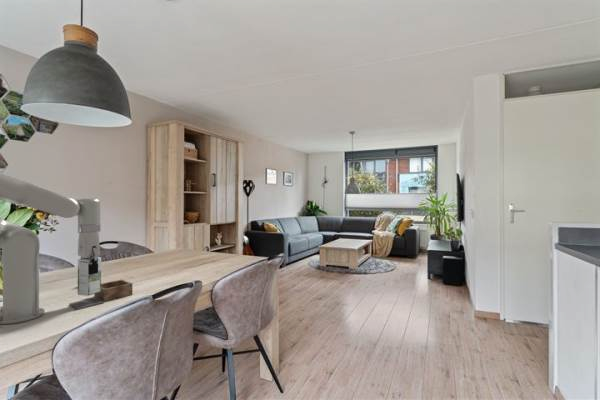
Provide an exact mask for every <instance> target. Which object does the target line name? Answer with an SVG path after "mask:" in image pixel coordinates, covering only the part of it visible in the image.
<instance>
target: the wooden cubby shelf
mask: <svg viewBox="0 0 600 400" xmlns="http://www.w3.org/2000/svg"><path fill="white" fill-rule="evenodd" d="M129 296H133V283H132V282H129V281H127V280H123V279H118V280H112V281H107V282H103V283H102V282H101V292H99V293H96V294H93V298H97V299H99V300H101V301H103V302H104V303H105V302H109V301H112V300H116V299H122V298H126V297H129Z"/></svg>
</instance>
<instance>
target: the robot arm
mask: <svg viewBox="0 0 600 400" xmlns="http://www.w3.org/2000/svg"><path fill="white" fill-rule="evenodd" d="M0 200H1V201H4V202H6V203H7V202H8V203H10V204H13V205H17V206H21V207H27V208H31V209H35V210H38V211H41V212H43V213H44V212H45V213H48V214H51V215H55V216H57V217H59V218H64V219H70V218H73V217H76V216H77V234H79V235H78V240H77V241H78V243H77V255H78V256H79V257H81V258H80V259H83V258H88V259H89V264H88V274H96V273H98V257H99V258H100V252H101V251H100V250H101V249H100V248H101V247H100V234H99V233H101V231H102V230H101V201H100V199H98V198H81V199H80V198H79V199H78V198H71V197H68V196H66V195H62V194H60V193H57V192H55V191H54V192H53V191H51V190H48V189H46V188H42V187H39V186H38V185H35V184H32V183H30V182H27V181H24V180H21V179H19V178H16V177H12V176H10V175H8V174H4V173H1V172H0ZM0 249H1V252H2V254H1V255H2V257H1V260H2V265H1V266H2V270H1V271H2V306H0V325H9V324H11V325H12V324H17V323H18V324H19V323H22V322H29V321H31V320H34V319H36V318H39V317H41V316H43V315H44V314H45V309H44V308H43V307H40V239H39V237H38V235H37V233H36V232H34V231H33V230H32V229H30V228H27V227H25V226H21V225H19V224H17V223H14V222H11V221H9V220H6V219H3V218H1V217H0ZM91 258H92V260H91Z"/></svg>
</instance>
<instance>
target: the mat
mask: <svg viewBox="0 0 600 400" xmlns="http://www.w3.org/2000/svg"><path fill="white" fill-rule="evenodd" d="M104 303H105V302H104V301H102V300H100V299H98V298H96V297H92V298H87V299H83V300H80V301H79V300H78V301H75V302H70V303H69V306H70V307H72V308H73V309H75V310H77V311H78V310H82V309H86V308H90V307H94V306H98V305H103V304H104Z"/></svg>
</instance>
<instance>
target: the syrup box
mask: <svg viewBox="0 0 600 400" xmlns="http://www.w3.org/2000/svg"><path fill="white" fill-rule="evenodd" d="M91 260H92V258H91ZM88 264H89V259H88V258H83V259H81V258H80V259H77V295H78V296H87V297H89V296H92V295H94V294H96V293H99V292H101V284H102V257H100V256H99V257H98V273H96V274H88Z"/></svg>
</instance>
